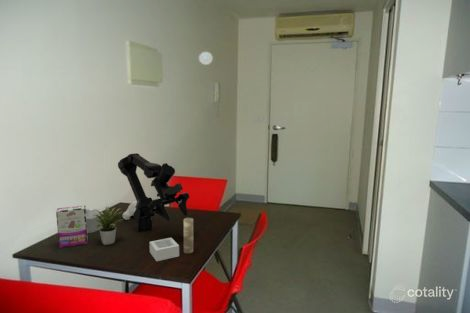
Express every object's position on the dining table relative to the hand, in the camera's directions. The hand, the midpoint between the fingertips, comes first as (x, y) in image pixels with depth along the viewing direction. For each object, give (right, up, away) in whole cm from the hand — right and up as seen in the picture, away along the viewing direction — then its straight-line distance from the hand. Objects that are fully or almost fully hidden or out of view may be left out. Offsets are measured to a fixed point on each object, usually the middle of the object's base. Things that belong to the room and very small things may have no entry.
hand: (178, 218), depth 136 cm
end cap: (-5, -14, -6) cm, 15 cm away
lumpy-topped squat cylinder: (-48, -9, +21) cm, 53 cm away
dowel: (+5, -13, -3) cm, 15 cm away
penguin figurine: (-32, -7, +37) cm, 49 cm away
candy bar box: (-46, -12, +2) cm, 48 cm away
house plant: (-32, -12, +4) cm, 34 cm away
